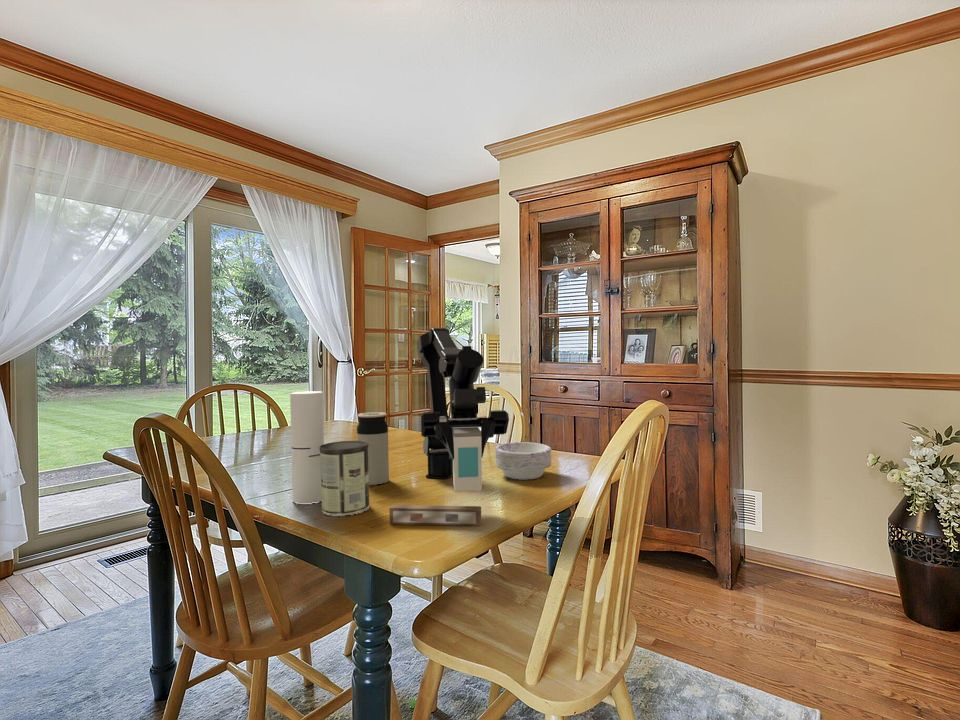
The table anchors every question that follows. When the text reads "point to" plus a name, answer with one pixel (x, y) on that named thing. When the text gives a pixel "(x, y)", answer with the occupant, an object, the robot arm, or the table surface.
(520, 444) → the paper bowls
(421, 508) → the brown wooden bar
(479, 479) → the carton
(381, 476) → the travel mug
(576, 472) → the table surface
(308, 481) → the cylindrical container
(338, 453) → the coffee can
